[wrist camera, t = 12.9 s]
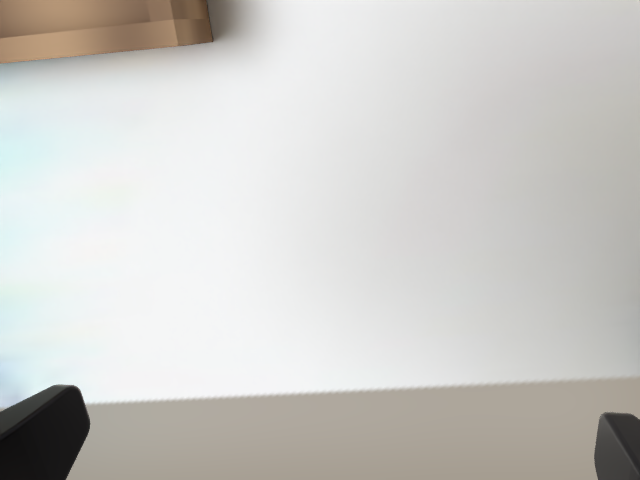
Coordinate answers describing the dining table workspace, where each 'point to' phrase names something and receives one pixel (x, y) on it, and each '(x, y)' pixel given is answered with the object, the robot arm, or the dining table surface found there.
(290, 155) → the dining table surface
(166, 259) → the dining table surface
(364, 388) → the dining table surface
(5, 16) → the walnut tray
